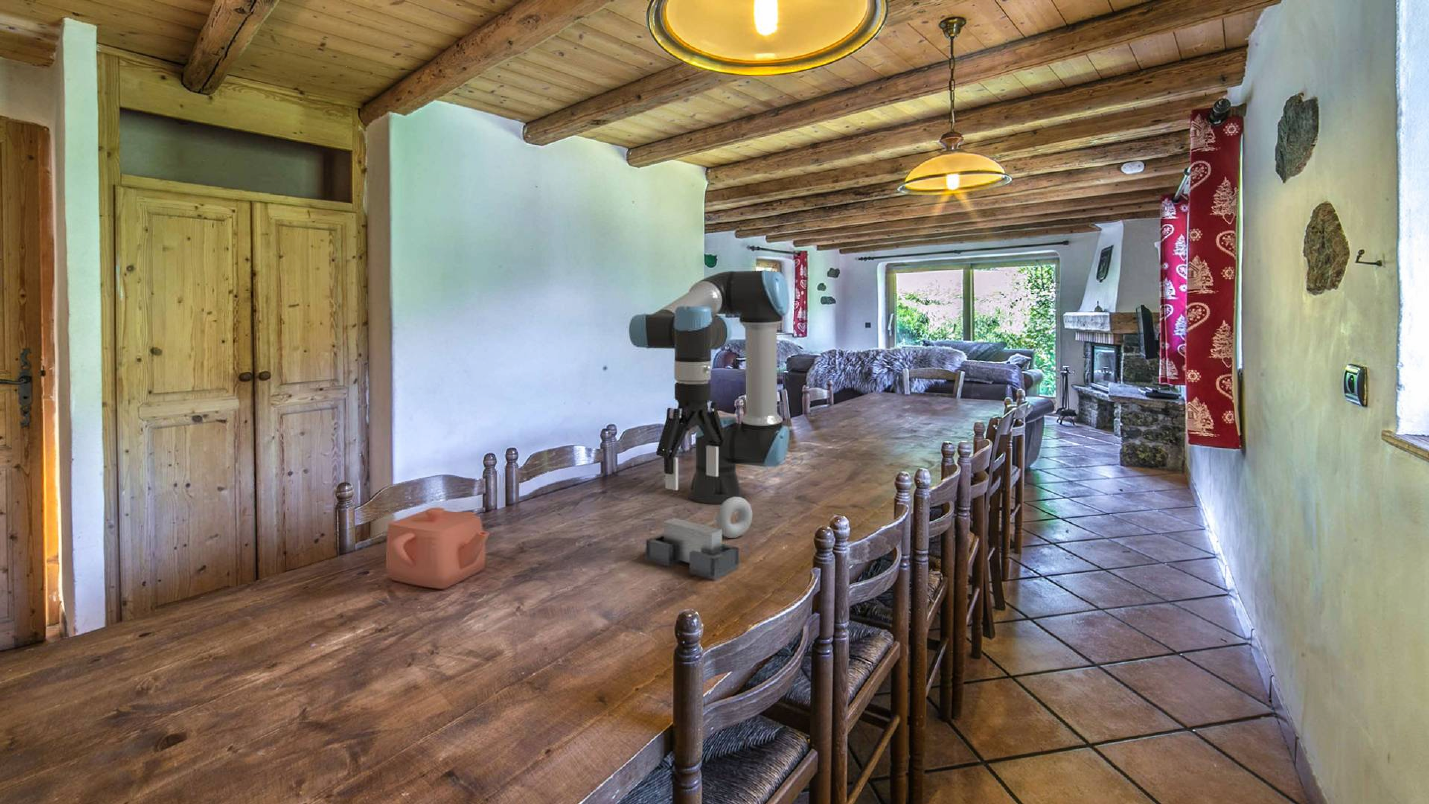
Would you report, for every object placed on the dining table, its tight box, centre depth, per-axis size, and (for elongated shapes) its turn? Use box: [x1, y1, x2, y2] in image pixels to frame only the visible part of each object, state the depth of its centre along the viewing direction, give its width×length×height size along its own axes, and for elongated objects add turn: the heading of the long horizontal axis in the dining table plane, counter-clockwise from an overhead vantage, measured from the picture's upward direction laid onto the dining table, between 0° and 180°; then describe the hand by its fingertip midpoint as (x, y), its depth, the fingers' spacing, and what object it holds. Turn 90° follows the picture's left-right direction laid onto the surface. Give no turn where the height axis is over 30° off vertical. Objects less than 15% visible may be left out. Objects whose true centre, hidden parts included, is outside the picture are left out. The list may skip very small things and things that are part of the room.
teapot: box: [385, 507, 490, 590], centre depth 135 cm, size 20×22×14 cm
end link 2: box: [689, 543, 740, 582], centre depth 141 cm, size 8×6×4 cm
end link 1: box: [645, 533, 683, 568], centre depth 148 cm, size 8×6×4 cm
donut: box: [715, 496, 753, 539], centre depth 162 cm, size 10×4×10 cm, turn 125°
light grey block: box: [663, 517, 723, 564], centre depth 144 cm, size 4×13×8 cm, turn 53°
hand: (692, 482), depth 143 cm, fingers open, 13 cm apart
